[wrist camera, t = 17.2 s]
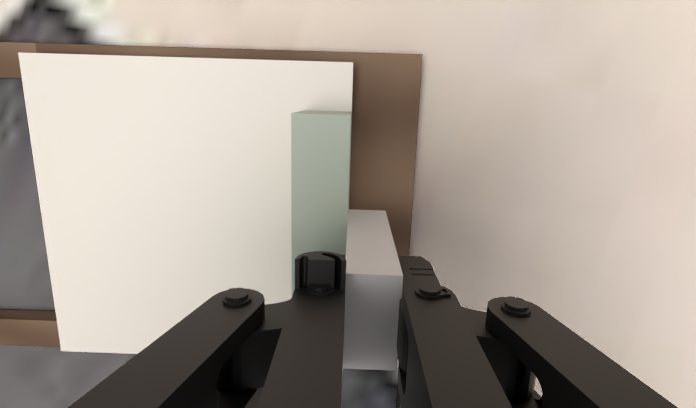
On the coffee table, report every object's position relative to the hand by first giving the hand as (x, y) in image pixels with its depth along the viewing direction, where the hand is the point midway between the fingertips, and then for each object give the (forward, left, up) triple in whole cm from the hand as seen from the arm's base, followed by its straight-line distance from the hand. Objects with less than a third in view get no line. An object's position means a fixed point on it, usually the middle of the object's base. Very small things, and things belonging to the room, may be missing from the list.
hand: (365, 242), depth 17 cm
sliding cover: (0, +8, -3) cm, 8 cm away
